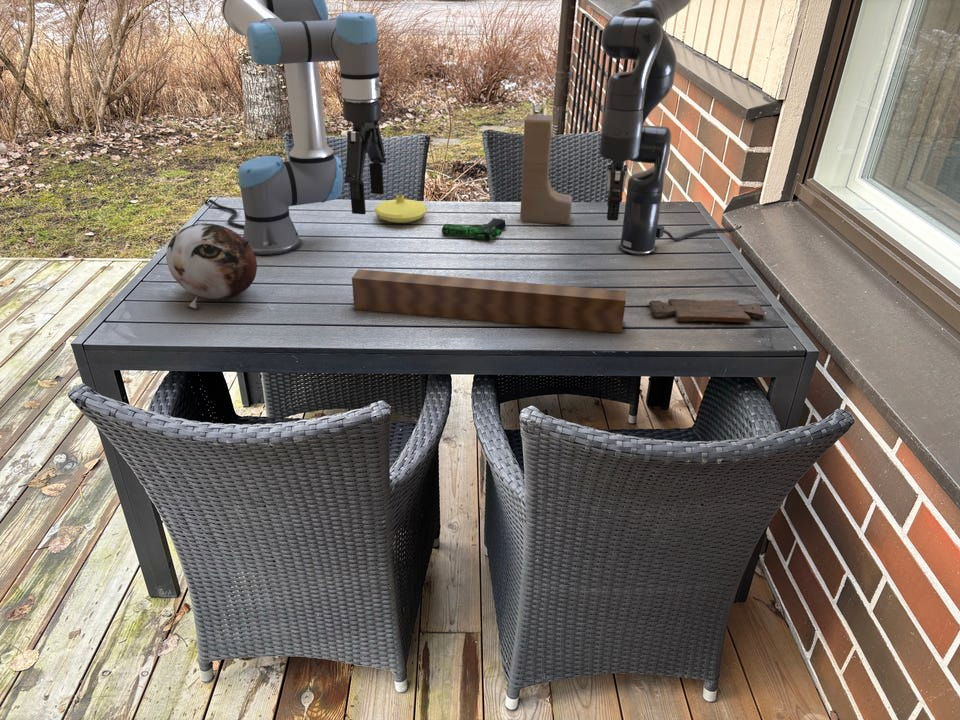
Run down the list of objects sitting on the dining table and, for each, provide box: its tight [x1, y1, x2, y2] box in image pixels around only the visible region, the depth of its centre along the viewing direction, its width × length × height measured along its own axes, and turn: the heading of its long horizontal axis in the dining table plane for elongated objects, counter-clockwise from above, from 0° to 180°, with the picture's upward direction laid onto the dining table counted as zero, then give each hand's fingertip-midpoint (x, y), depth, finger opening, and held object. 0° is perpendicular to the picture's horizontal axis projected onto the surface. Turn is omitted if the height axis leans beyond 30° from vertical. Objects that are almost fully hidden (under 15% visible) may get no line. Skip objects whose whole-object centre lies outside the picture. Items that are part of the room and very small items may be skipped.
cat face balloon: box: [165, 222, 258, 309], centre depth 165 cm, size 22×18×20 cm
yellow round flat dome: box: [374, 194, 428, 224], centre depth 214 cm, size 16×16×7 cm
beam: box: [351, 268, 627, 334], centre depth 160 cm, size 61×5×8 cm, turn 81°
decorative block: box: [519, 114, 573, 225], centre depth 210 cm, size 8×15×30 cm, turn 82°
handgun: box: [441, 217, 506, 242], centre depth 207 cm, size 16×3×15 cm
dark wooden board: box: [648, 298, 765, 323], centre depth 164 cm, size 26×2×10 cm
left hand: (368, 203), depth 153 cm, fingers open, 13 cm apart
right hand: (612, 212), depth 146 cm, fingers open, 8 cm apart
